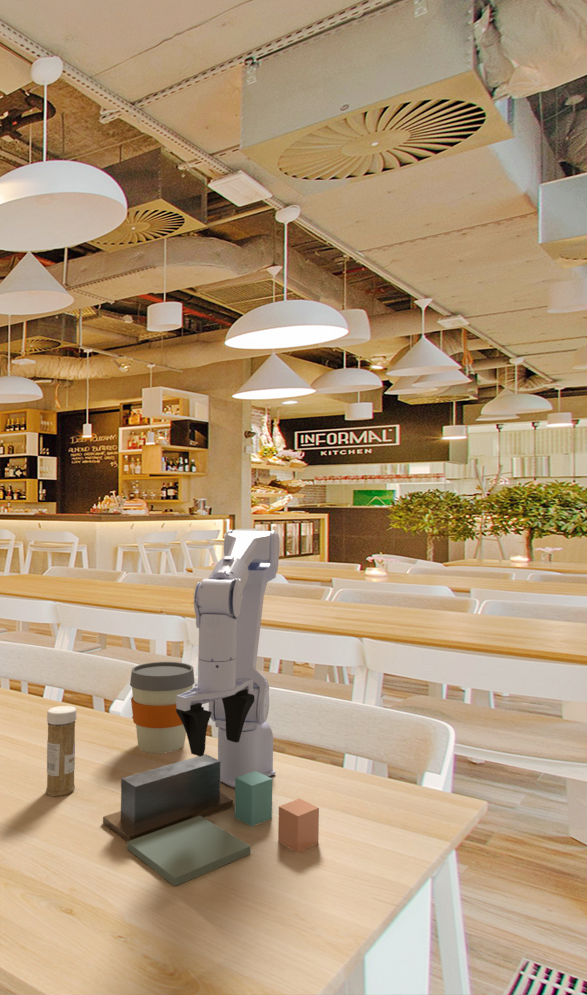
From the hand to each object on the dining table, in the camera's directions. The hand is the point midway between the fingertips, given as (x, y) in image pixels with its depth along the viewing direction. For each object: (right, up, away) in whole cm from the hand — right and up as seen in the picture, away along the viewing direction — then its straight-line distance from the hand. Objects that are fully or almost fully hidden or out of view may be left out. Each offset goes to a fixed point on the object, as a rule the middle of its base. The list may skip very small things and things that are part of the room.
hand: (215, 747), depth 102 cm
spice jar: (-26, -10, +8) cm, 30 cm away
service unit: (-7, -10, 0) cm, 12 cm away
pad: (-2, -10, -11) cm, 15 cm away
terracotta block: (+13, -11, -8) cm, 18 cm away
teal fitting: (+6, -11, 0) cm, 12 cm away
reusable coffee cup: (-14, -11, +30) cm, 35 cm away
